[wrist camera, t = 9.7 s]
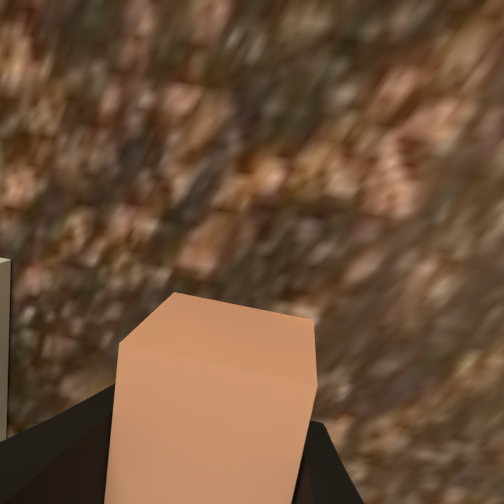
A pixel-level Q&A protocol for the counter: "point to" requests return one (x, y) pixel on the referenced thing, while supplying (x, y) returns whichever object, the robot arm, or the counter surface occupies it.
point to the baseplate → (4, 341)
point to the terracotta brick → (211, 405)
